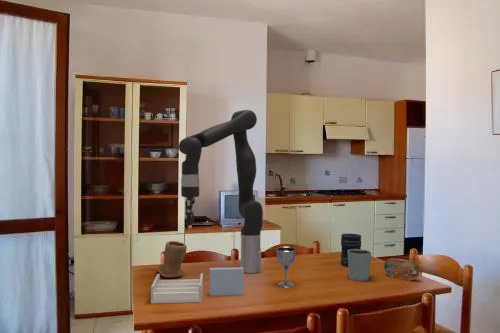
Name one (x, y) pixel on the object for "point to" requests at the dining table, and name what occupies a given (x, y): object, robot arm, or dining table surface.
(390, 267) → the tin
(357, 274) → the grey tapered cup
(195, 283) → the dish rack
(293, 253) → the wine glass
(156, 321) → the dining table surface
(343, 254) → the storage jar
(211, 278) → the blue-grey rectangular slab
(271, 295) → the dining table surface
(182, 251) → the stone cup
